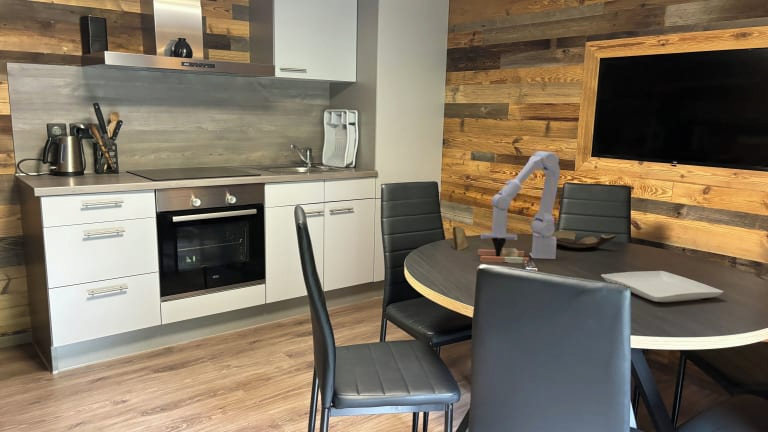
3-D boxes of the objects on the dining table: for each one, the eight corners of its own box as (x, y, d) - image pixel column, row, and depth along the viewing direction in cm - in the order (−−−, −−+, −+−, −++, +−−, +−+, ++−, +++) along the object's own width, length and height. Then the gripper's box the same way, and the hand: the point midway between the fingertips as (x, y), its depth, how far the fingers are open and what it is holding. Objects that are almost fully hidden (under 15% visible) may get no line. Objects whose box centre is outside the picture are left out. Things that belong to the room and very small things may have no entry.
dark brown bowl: (561, 239, 273) (562, 223, 272) (620, 250, 251) (621, 233, 249) (533, 244, 259) (534, 228, 258) (593, 257, 236) (595, 239, 235)
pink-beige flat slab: (523, 255, 237) (523, 251, 236) (528, 263, 224) (529, 258, 224) (477, 254, 238) (478, 249, 238) (480, 261, 225) (480, 256, 225)
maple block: (515, 258, 233) (516, 248, 233) (517, 261, 228) (517, 252, 227) (500, 257, 234) (501, 248, 233) (502, 260, 228) (502, 251, 228)
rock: (464, 238, 258) (445, 237, 254) (473, 226, 252) (454, 224, 248) (472, 257, 251) (453, 255, 246) (481, 244, 245) (461, 243, 241)
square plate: (724, 301, 181) (726, 290, 181) (655, 308, 174) (656, 296, 173) (661, 279, 207) (662, 268, 206) (598, 283, 199) (599, 273, 198)
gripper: (482, 224, 225) (480, 257, 228) (519, 226, 224) (517, 259, 227) (480, 221, 232) (479, 253, 235) (516, 222, 231) (514, 255, 233)
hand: (497, 256), depth 231 cm, fingers closed
